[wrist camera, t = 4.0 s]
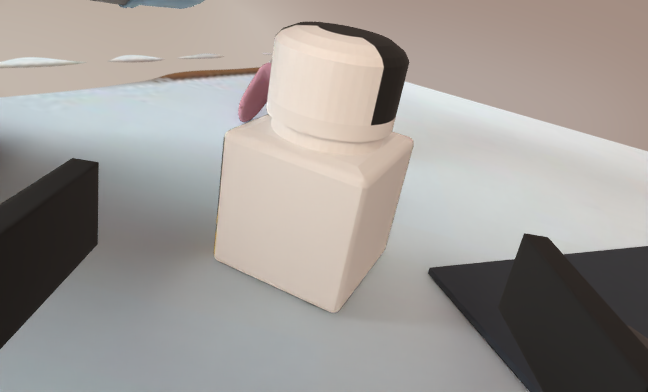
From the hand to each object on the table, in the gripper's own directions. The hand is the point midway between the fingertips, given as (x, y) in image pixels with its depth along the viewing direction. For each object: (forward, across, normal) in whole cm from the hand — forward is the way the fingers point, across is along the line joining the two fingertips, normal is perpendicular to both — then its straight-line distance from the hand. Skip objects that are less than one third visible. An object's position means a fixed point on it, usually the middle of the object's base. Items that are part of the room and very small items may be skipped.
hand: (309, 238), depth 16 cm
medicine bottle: (+10, 0, -6) cm, 12 cm away
